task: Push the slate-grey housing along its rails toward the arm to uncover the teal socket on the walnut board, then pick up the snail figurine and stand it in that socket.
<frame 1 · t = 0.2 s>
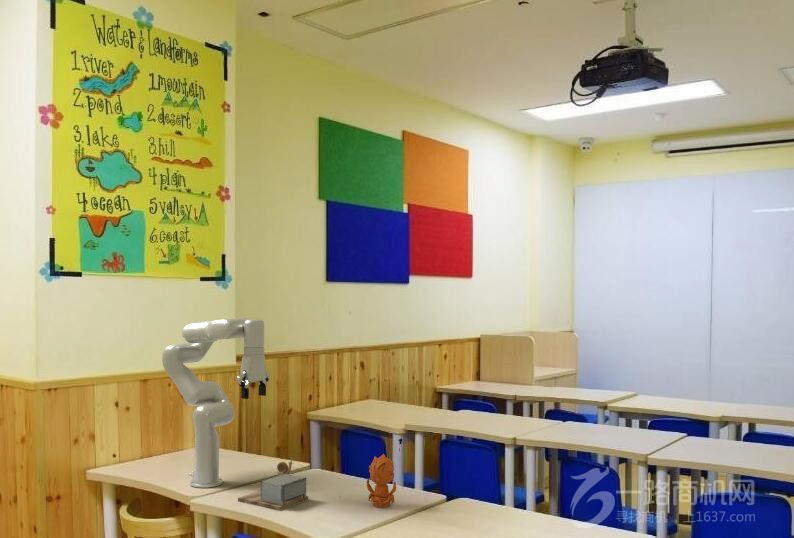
hand: (253, 397, 279), 37 cm above the table, tool pointing down, fingers open, 9 cm apart
board: (273, 500, 270), on the table
snail figurine: (284, 489, 285), on the table
housing: (283, 489, 267), point 5 cm above the table, slide at 0.0 cm
orange figurine: (381, 505, 266), on the table
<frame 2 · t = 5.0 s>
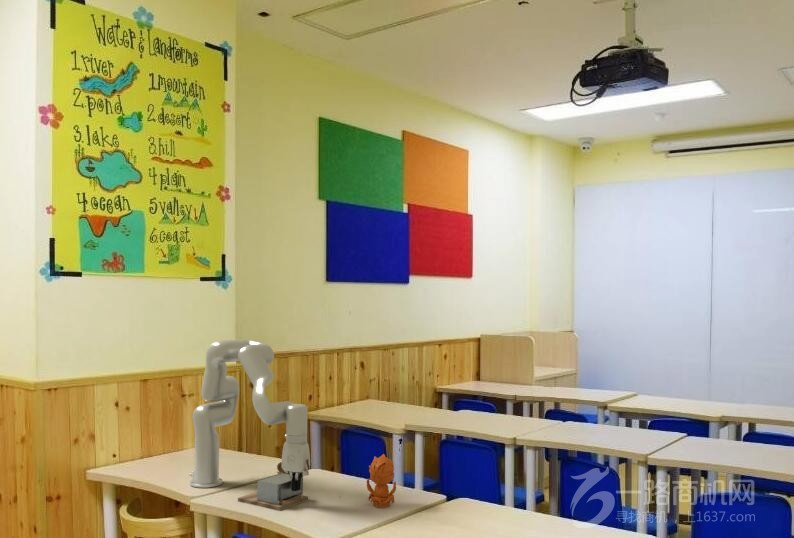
hand: (295, 490, 264), 5 cm above the table, tool pointing down, fingers closed
housing: (280, 488, 268), point 5 cm above the table, slide at 1.7 cm, touching gripper
everything else where it was.
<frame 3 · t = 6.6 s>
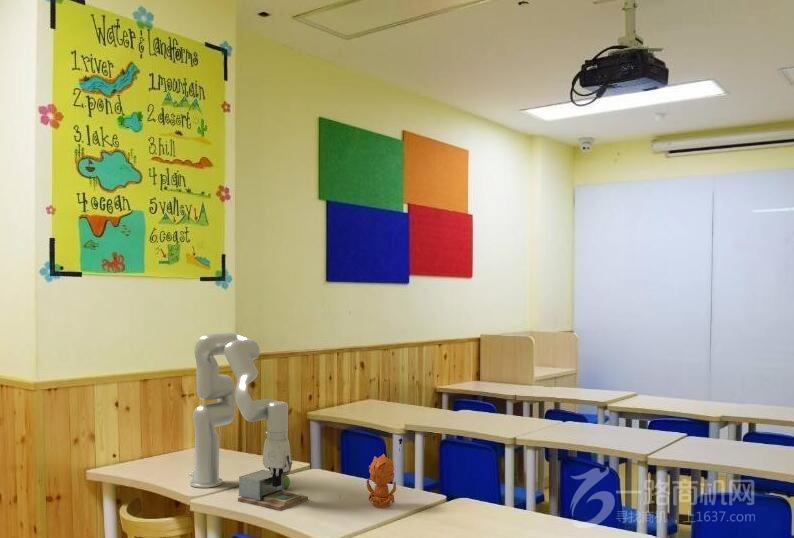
hand: (276, 485, 269), 6 cm above the table, tool pointing down, fingers closed
housing: (261, 484, 273), point 5 cm above the table, slide at 10.8 cm, touching gripper
everything else where it was.
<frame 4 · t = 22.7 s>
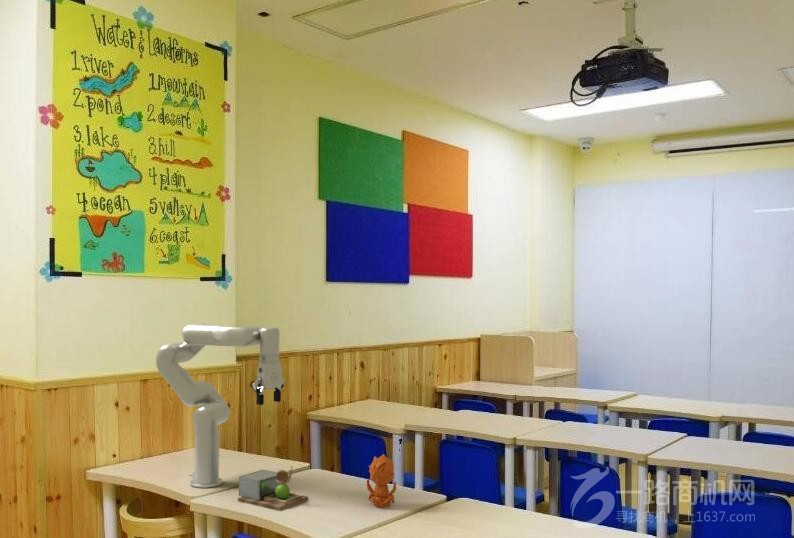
hand: (268, 403, 285), 33 cm above the table, tool pointing down, fingers open, 9 cm apart
snail figurine: (283, 499, 267), point 1 cm above the table, touching board
housing: (261, 484, 273), point 5 cm above the table, slide at 10.9 cm
everything else where it was.
at the end: housing slide at 10.9 cm; snail figurine inside the target area on the board (0.2 cm from its centre), point 1.1 cm above the board's base; snail figurine tilted 0° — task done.
